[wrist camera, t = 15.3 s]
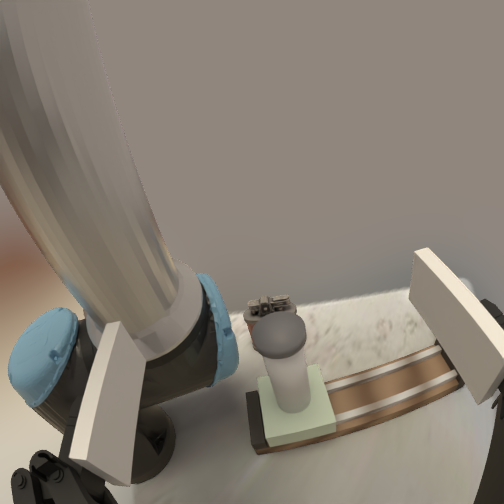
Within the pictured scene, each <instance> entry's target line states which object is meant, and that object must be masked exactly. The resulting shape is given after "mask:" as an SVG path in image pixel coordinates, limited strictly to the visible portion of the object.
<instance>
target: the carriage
mask: <svg viewBox="0 0 504 504" xmlns="http://www.w3.org/2000/svg"><path fill="white" fill-rule="evenodd" d="M252 339H253V342H254V345H255V348H256V350H257V351H258V352H259V353H260V354H261V355H262V356H263V359H264V362H265V365H266V368H267V372H268V375H267V376H262V377H258V378H257V382H258V389H259V396H260V403H261V409H262V416H263V423H264V430H265V436H266V440H267V442H268V444H269V446H270V447H274V446H279V445H284V444H289V443H293V442H298V441H302V440H306V439H310V438H314V437H318V436H322V435H326V434H330V433H333V432H336V419H335V416H334V412H333V409H332V406H331V403H330V400H329V396H328V393H327V390H326V387H325V384H324V381H323V378H322V374H321V371H320V368H319V365H318V363H317V364H313V365H309V366H306V359H305V352H304V344H305V342H306V329H305V323H304V321H303V320H302V318H301V317H299V316H298V315H296V314H294V313H291V312H286V311H280V312H274V313H270V314H268V315H266V316H264V317H262V318H261V319H260V320H258V321H257V323H256V324H255V325H254V327H253V330H252Z"/></svg>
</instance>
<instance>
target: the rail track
mask: <svg viewBox="0 0 504 504" xmlns="http://www.w3.org/2000/svg"><path fill="white" fill-rule="evenodd" d="M324 384H325V387H326V390H327V393H328V396H329V400H330V403H331V406H332V409H333V412H334V416H335V419H336V432H333V433H330V434H326V435H322V436H318V437H314V438H310V439H306V440H302V441H298V442H293V443H289V444H284V445H279V446H274V447H270V446H269V444H268V442H267V440H266V436H265V430H264V423H263V416H262V409H261V403H260V396H259V393H258V391H252V392H247V393H246V401H247V409H248V418H249V427H250V435H251V444H252V446H253V448H254V449H255V451H256V452H257V454H258V455H261V454H267V453H272V452H277V451H282V450H287V449H292V448H297V447H301V446H305V445H310V444H314V443H318V442H322V441H325V440H329V439H333V438H336V437H340V436H343V435H346V434H350V433H353V432H356V431H359V430H362V429H365V428H368V427H371V426H374V425H377V424H380V423H382V422H385V421H388V420H390V419H393V418H396V417H398V416H401V415H403V414H406V413H408V412H410V411H413V410H415V409H418V408H420V407H422V406H424V405H427V404H429V403H431V402H433V401H435V400H437V399H440V398H442V397H444V396H446V395H448V394H450V393H452V392H454V391H456V390H458V389H460V388H461V387H463V386H464V384H465V382H464V381H463V379H462V377H461V376H460V374H459V373H458V371H457V369H456V368H455V366H454V365H453V363H452V361H451V360H450V358H449V357H448V355H447V354H446V352H445V351H444V349H443V347H442V346H441V344H440V343H439V341H438V340H437V338H436V341H435V344H434V345H432V346H430V347H427V348H425V349H422V350H420V351H417V352H415V353H412V354H410V355H407V356H405V357H402V358H399V359H397V360H394V361H391V362H388V363H385V364H383V365H380V366H377V367H374V368H371V369H368V370H365V371H362V372H359V373H355V374H352V375H349V376H346V377H342V378H339V379H335V380H332V381H328V382H325V383H324Z"/></svg>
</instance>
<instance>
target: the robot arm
mask: <svg viewBox="0 0 504 504" xmlns="http://www.w3.org/2000/svg"><path fill="white" fill-rule="evenodd" d="M0 185H1V187H2V189H3V191H4V193H5V195H6V196H7V198H8V200H9V202H10V204H11V205H12V207H13V209H14V210H15V212H16V214H17V215H18V217H19V219H20V220H21V222H22V223H23V225H24V227H25V228H26V230H27V232H28V233H29V235H30V236H31V238H32V239H33V241H34V243H35V244H36V246H37V247H38V248H39V250H40V251H41V253H42V254H43V256H44V257H45V259H46V260H47V262H48V263H49V264H50V266H51V267H52V268H53V270H54V271H55V273H56V274H57V275H58V277H59V278H60V279H61V281H62V282H63V283H64V285H65V286H66V287H67V289H68V290H69V291H70V292H71V294H72V295H73V296H74V297H75V299H76V300H77V301H78V303H80V305H81V306H82V307H83V309H84V310H85V311H86V312H87V316H86V319H83V320H78V318H77V316H76V314H75V313H73V312H71V311H70V310H69V309H67V308H62V307H59V308H55V309H52V310H50V311H48V312H46V313H44V314H43V315H41V316H40V317H38V318H37V319H36V320H35V321H34V322H33V323H31V325H30V326H29V327H28V328H27V329H26V330H25V331H24V332H23V334H22V335H21V336H20V338H19V339H18V341H17V343H16V344H15V346H14V348H13V351H12V353H11V356H10V359H9V364H8V376H9V380H10V383H11V384H12V386H13V388H14V389H15V390H16V391H17V392H18V394H19V395H20V396H21V397H22V398H23V399H24V400H25V402H26V404H27V405H28V406H29V407H31V408H32V409H33V410H34V411H35V412H37V413H38V414H39V415H40V416H41V417H42V418H44V419H45V420H46V421H47V422H48V423H50V424H51V425H52V426H53V427H54V428H56V429H57V430H58V431H60V432H61V433H62V434H63V435H64V436H63V440H62V444H61V449H60V453H59V457H56V456H55V455H53V454H51V453H50V452H49V451H47V450H40V451H38V452H36V453H35V454H34V455H33V456H32V458H31V460H30V465H29V469H30V471H28V470H26V469H24V468H19V469H17V470H16V471H15V472H14V473H13V475H12V478H11V488H12V495H13V501H14V504H118V503H117V501H116V500H115V499H114V497H113V496H112V494H111V493H110V491H109V490H108V489H107V488H106V487H105V481H107V482H109V483H111V484H113V485H118V486H129V487H130V484H135V483H140V482H143V481H146V480H148V479H150V478H152V477H154V476H155V475H156V474H158V473H159V472H160V471H161V470H162V469H163V468H164V467H165V465H166V464H167V463H168V461H169V459H170V457H171V455H172V453H173V449H174V445H175V431H174V427H173V424H172V422H171V420H170V418H169V417H168V415H167V414H166V413H165V412H164V411H163V410H162V408H161V407H160V406H159V405H157V404H159V403H162V402H165V401H168V400H171V399H174V398H177V397H179V396H182V395H185V394H188V393H190V392H193V391H196V390H199V389H201V388H204V387H211V386H214V384H216V383H217V382H218V381H220V380H223V379H225V378H227V377H229V376H231V375H232V374H233V373H234V372H235V371H236V370H237V368H238V364H239V353H238V347H237V342H236V338H235V335H234V333H233V331H232V329H231V322H230V318H229V315H228V312H227V309H226V307H225V304H224V301H223V299H222V297H221V294H220V292H219V290H218V288H217V286H216V284H215V282H214V281H213V279H212V278H211V277H210V276H209V275H208V274H204V273H203V274H195V273H194V272H193V270H191V268H190V267H189V266H187V265H186V264H185V263H183V262H181V261H179V260H176V259H173V258H171V256H170V254H169V252H168V249H167V247H166V244H165V242H164V239H163V237H162V235H161V232H160V230H159V227H158V225H157V222H156V220H155V217H154V214H153V212H152V209H151V207H150V204H149V201H148V199H147V196H146V194H145V191H144V188H143V185H142V183H141V180H140V177H139V175H138V172H137V169H136V166H135V163H134V160H133V158H132V155H131V152H130V149H129V146H128V143H127V140H126V137H125V134H124V131H123V127H122V124H121V121H120V118H119V115H118V112H117V109H116V105H115V102H114V99H113V95H112V92H111V88H110V85H109V82H108V78H107V74H106V71H105V67H104V63H103V59H102V56H101V52H100V48H99V44H98V40H97V36H96V32H95V27H94V23H93V18H92V14H91V9H90V4H89V0H0ZM409 300H410V301H411V303H412V304H413V305H414V307H415V308H416V310H417V311H418V312H419V314H420V315H421V317H422V318H423V319H424V321H425V322H426V324H427V325H428V327H429V328H430V330H431V331H432V333H433V334H434V335H435V337H436V338H437V340H438V341H439V343H440V344H441V346H442V347H443V349H444V351H445V352H446V354H447V355H448V357H449V358H450V360H451V361H452V363H453V365H454V366H455V368H456V369H457V371H458V373H459V374H460V376H461V377H462V379H463V381H464V382H465V384H466V386H467V387H468V389H469V391H470V392H471V394H472V396H473V398H474V399H475V401H476V403H477V405H479V404H481V403H482V402H484V401H486V400H487V399H489V398H490V397H492V396H493V394H494V393H495V391H496V390H497V388H498V389H499V391H500V392H501V393H500V395H499V396H498V397H497V399H496V400H495V401H494V403H493V405H492V407H491V408H492V409H494V407H495V406H496V405H497V403H498V406H497V412H496V419H495V424H494V430H493V435H492V440H491V444H490V449H489V453H488V457H487V461H486V465H485V469H484V472H483V476H482V479H481V482H480V486H479V489H478V492H477V495H476V498H475V501H474V503H473V504H504V315H503V313H502V312H501V311H500V310H499V309H498V307H497V306H496V305H495V304H493V303H491V302H490V301H488V300H486V299H483V300H481V301H478V299H477V298H476V297H475V296H474V295H473V294H472V293H471V292H470V291H469V289H468V288H467V287H466V286H465V285H464V284H463V283H462V282H461V281H460V280H459V279H458V278H457V277H456V275H454V273H453V272H452V271H450V269H449V268H448V267H447V266H446V265H445V264H444V263H443V262H442V261H441V260H440V259H439V258H438V257H437V256H436V255H435V254H434V253H433V252H432V251H431V250H430V249H429V248H424V249H421V250H417V251H415V252H414V259H413V268H412V278H411V286H410V293H409Z"/></svg>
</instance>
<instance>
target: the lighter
mask: <svg viewBox="0 0 504 504" xmlns="http://www.w3.org/2000/svg"><path fill="white" fill-rule="evenodd" d="M248 306H249V309H248V310H246V311H245V312H244V314H243V317H244V320H245V322H246V323H247V326H248V329H249V332H250V335H251V338H252V330H253V327H254V325H255V324H256V323H257V321H258V320H260V319H261V318H262V317H264V316H266V315H268V314H270V313H274V312H280V311H286V312H291V313H294V314H296V313H297V310H296V306H295V304H293V303H290V298H289V296H288V295H281V296H275V297H272V298H270V297H268V296H262V297H260V299H259V300H252V301H249V302H248ZM252 341H253V339H252ZM252 344H253V347H254V349H255V350H256V348H255V345H254V342H253V343H252ZM256 351H257V350H256Z"/></svg>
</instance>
